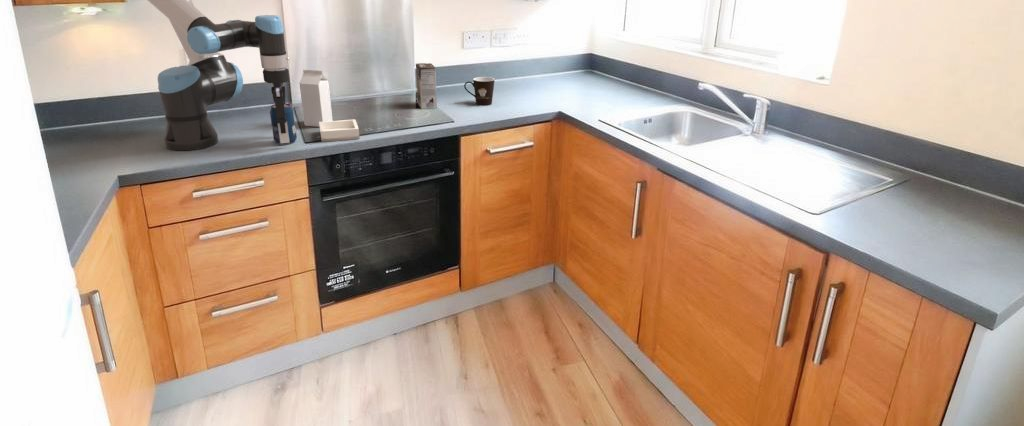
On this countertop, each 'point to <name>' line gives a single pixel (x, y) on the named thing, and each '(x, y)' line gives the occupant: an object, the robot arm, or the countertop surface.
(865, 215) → the countertop surface
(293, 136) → the soda can
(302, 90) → the milk carton
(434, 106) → the coffee box
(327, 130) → the bin
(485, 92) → the coffee mug
